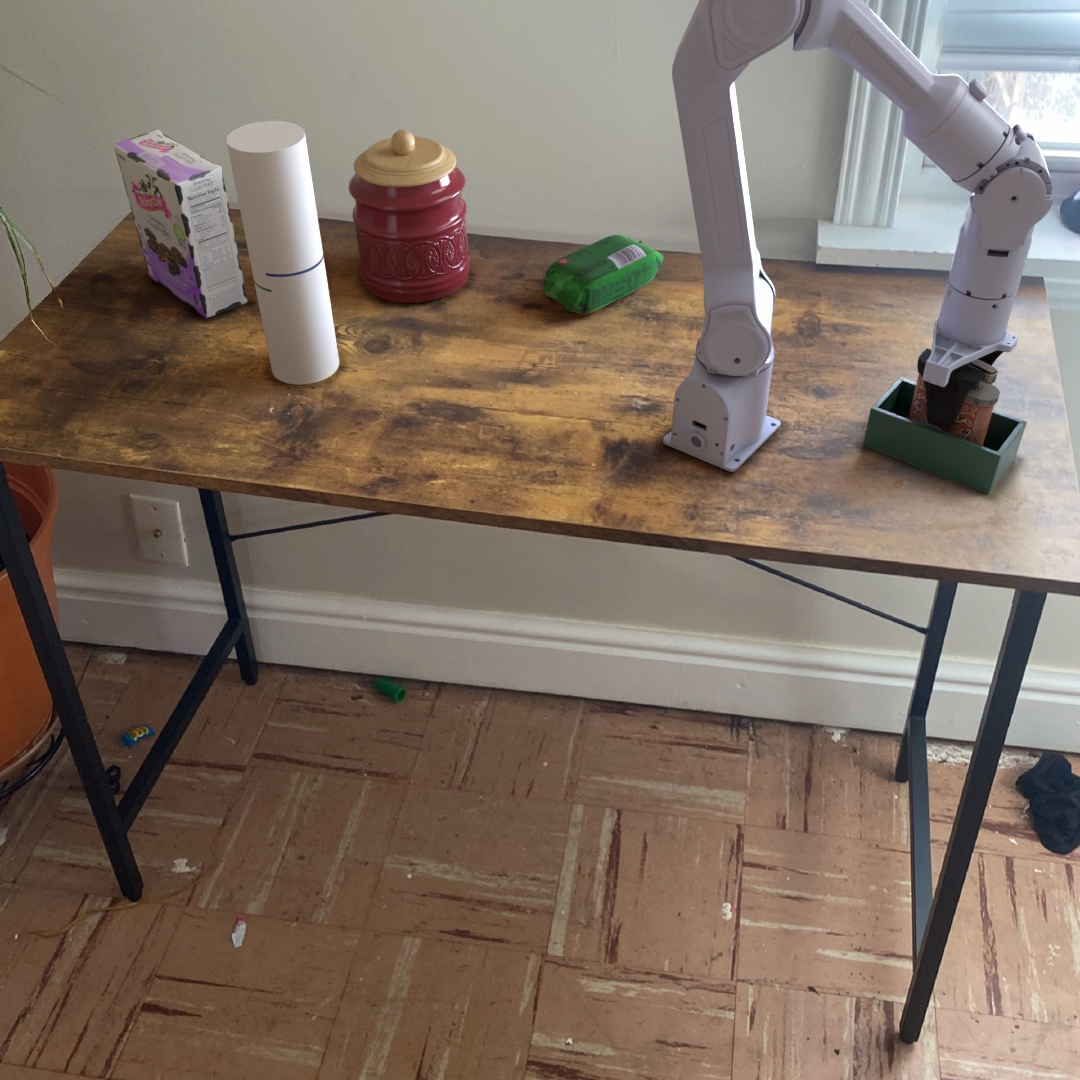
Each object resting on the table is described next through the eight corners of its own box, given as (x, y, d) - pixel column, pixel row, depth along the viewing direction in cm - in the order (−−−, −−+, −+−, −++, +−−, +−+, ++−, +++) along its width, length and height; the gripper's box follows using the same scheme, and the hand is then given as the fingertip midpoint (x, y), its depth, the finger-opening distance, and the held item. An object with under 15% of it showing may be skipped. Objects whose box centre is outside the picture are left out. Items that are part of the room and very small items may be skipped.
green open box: (988, 494, 107) (1000, 456, 104) (862, 445, 113) (870, 408, 110) (1015, 459, 111) (1027, 421, 108) (891, 413, 117) (899, 376, 114)
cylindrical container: (326, 387, 122) (288, 155, 105) (261, 380, 123) (213, 149, 106) (348, 350, 127) (315, 123, 110) (285, 344, 128) (244, 118, 111)
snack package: (674, 281, 137) (676, 240, 134) (575, 329, 129) (575, 286, 126) (631, 260, 141) (632, 219, 138) (532, 305, 134) (531, 263, 130)
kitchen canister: (391, 243, 145) (376, 101, 133) (488, 261, 141) (481, 116, 130) (341, 294, 136) (319, 146, 124) (442, 314, 132) (430, 163, 121)
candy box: (146, 276, 140) (110, 142, 129) (190, 259, 143) (158, 126, 132) (205, 320, 132) (173, 181, 121) (250, 302, 135) (222, 164, 124)
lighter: (896, 430, 113) (916, 342, 106) (918, 417, 115) (939, 329, 108) (966, 471, 108) (992, 380, 102) (988, 456, 110) (1015, 366, 103)
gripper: (996, 334, 94) (958, 468, 103) (1059, 262, 102) (1019, 391, 111) (913, 307, 97) (883, 439, 106) (980, 240, 106) (948, 367, 115)
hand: (948, 413), depth 109 cm, fingers closed on lighter, 4 cm apart
